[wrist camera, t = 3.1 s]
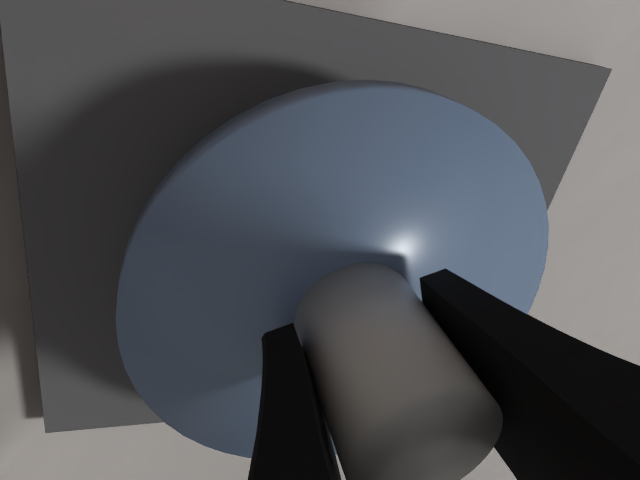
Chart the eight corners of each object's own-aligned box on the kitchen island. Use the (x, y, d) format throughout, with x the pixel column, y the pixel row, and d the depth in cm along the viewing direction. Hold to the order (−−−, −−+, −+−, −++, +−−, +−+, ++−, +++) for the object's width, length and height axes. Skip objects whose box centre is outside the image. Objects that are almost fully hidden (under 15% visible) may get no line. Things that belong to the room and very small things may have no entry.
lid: (593, 112, 11) (812, 192, 7) (453, 417, 15) (542, 560, 12) (116, 37, 7) (69, 116, 4) (120, 454, 12) (101, 669, 8)
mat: (594, 64, 13) (612, 69, 12) (454, 382, 18) (462, 394, 18) (1, -59, 8) (-9, -60, 8) (49, 415, 14) (45, 433, 13)
